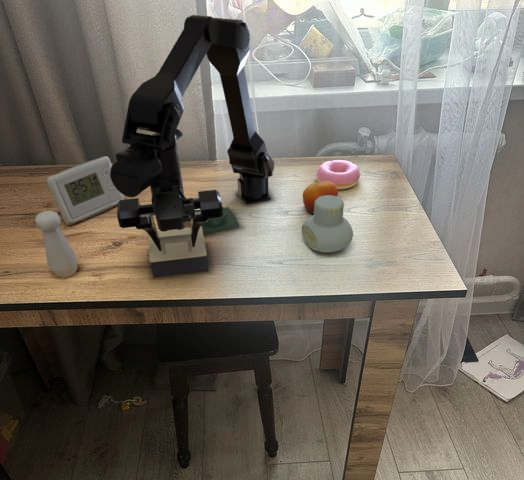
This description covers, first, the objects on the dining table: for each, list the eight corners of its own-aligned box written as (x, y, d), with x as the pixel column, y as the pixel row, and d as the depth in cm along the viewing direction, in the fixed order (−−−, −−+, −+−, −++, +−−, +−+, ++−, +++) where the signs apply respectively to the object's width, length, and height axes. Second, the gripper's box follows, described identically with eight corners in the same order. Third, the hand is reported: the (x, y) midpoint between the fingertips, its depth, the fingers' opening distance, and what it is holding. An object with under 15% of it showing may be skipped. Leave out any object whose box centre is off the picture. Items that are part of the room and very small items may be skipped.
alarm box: (228, 211, 119) (227, 199, 117) (239, 228, 113) (238, 216, 111) (187, 219, 116) (185, 208, 114) (196, 237, 111) (194, 225, 109)
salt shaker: (55, 264, 105) (33, 207, 96) (82, 262, 105) (64, 205, 96) (49, 281, 101) (26, 223, 91) (78, 279, 101) (58, 221, 92)
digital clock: (65, 229, 115) (51, 186, 107) (52, 211, 120) (38, 168, 112) (131, 208, 121) (123, 166, 113) (116, 192, 126) (107, 151, 118)
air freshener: (297, 237, 110) (298, 194, 103) (330, 227, 112) (333, 185, 105) (321, 262, 103) (324, 219, 96) (356, 252, 105) (361, 209, 98)
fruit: (319, 219, 112) (310, 183, 110) (302, 222, 119) (294, 188, 117) (349, 210, 115) (341, 174, 112) (331, 213, 122) (323, 180, 120)
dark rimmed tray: (208, 271, 102) (206, 254, 99) (153, 278, 100) (150, 261, 98) (204, 244, 109) (202, 228, 106) (152, 250, 108) (149, 234, 105)
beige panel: (206, 255, 98) (204, 237, 96) (150, 262, 97) (146, 244, 94) (201, 228, 106) (199, 210, 103) (149, 234, 105) (145, 216, 102)
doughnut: (320, 170, 133) (321, 154, 130) (362, 174, 130) (364, 158, 128) (311, 189, 125) (312, 173, 122) (356, 194, 123) (358, 178, 120)
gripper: (107, 199, 81) (127, 278, 92) (223, 186, 83) (229, 265, 94) (109, 168, 88) (128, 245, 99) (215, 158, 90) (222, 234, 101)
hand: (176, 248), depth 98 cm, fingers closed on beige panel, 6 cm apart
